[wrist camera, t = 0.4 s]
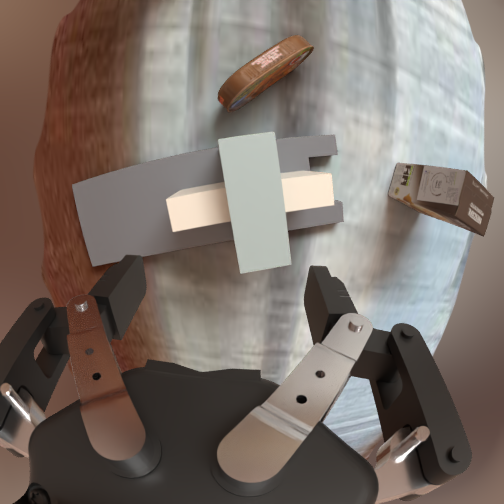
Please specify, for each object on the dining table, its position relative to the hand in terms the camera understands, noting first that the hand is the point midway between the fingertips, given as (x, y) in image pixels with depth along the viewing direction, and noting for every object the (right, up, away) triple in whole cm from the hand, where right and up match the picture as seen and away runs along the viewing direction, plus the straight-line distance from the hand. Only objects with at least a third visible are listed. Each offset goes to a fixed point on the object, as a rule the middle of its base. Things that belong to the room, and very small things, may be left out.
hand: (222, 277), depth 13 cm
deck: (-5, +9, +25) cm, 27 cm away
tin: (+3, +26, +21) cm, 33 cm away
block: (0, +9, +24) cm, 25 cm away
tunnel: (0, +9, +23) cm, 25 cm away
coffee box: (+29, +12, +28) cm, 42 cm away
